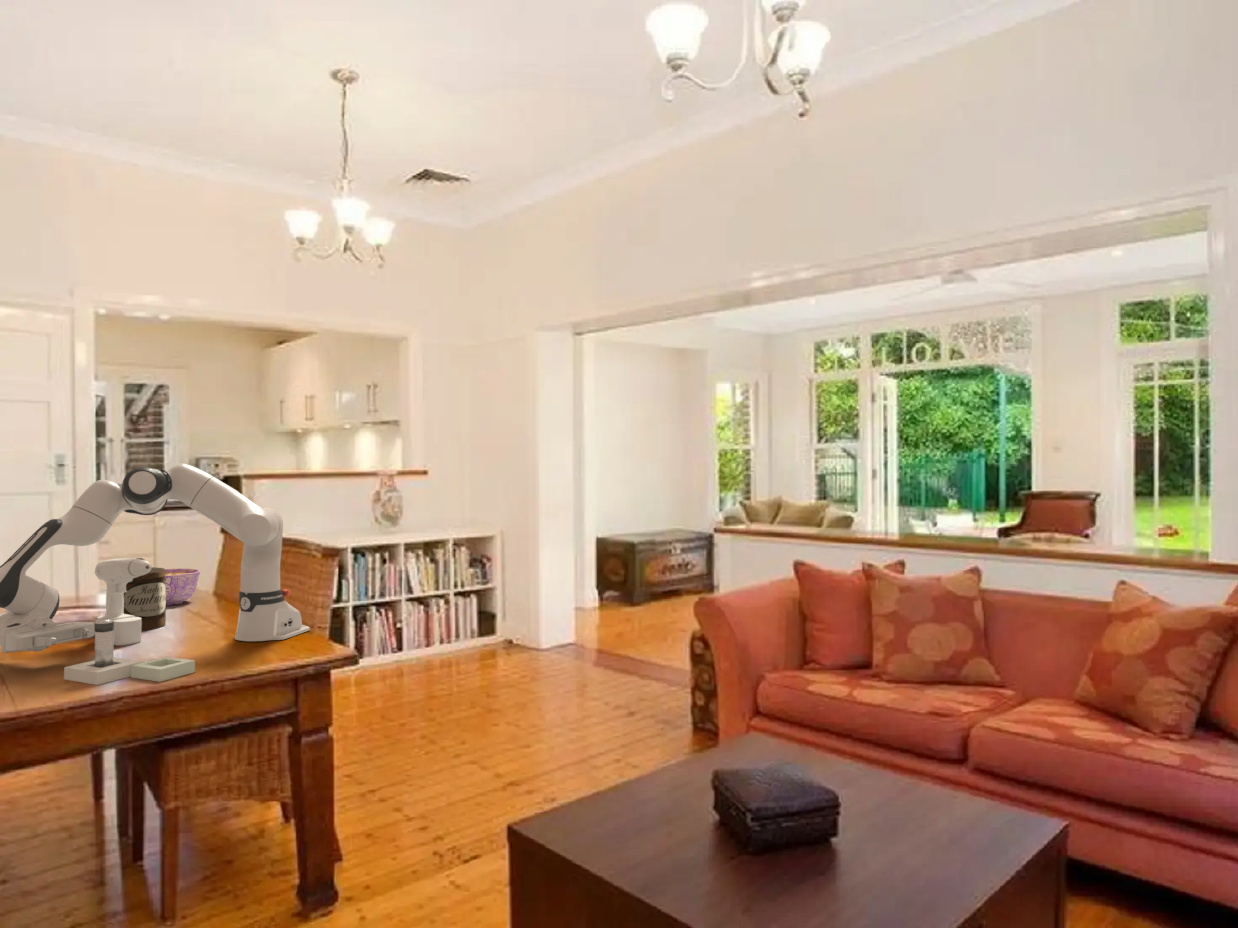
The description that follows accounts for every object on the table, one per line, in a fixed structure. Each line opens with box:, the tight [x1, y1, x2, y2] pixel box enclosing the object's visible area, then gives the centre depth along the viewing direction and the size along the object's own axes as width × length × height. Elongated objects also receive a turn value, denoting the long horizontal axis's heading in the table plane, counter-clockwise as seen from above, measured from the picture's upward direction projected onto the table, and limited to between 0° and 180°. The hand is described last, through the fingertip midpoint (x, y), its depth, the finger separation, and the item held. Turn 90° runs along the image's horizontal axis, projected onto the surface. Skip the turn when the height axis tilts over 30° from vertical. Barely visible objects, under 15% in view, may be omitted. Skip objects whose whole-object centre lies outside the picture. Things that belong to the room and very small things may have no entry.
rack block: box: [130, 656, 196, 683], centre depth 213 cm, size 10×10×3 cm
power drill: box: [94, 557, 152, 647], centre depth 248 cm, size 8×24×25 cm, turn 58°
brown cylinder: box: [124, 557, 167, 631], centre depth 271 cm, size 15×15×22 cm
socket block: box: [63, 656, 144, 686], centre depth 211 cm, size 12×12×3 cm
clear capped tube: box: [93, 619, 115, 668], centre depth 211 cm, size 4×4×14 cm
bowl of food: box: [164, 568, 201, 606], centre depth 314 cm, size 20×20×12 cm
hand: (71, 638), depth 215 cm, fingers open, 8 cm apart
